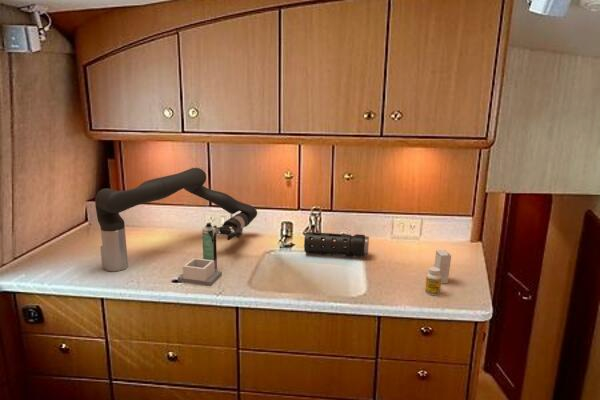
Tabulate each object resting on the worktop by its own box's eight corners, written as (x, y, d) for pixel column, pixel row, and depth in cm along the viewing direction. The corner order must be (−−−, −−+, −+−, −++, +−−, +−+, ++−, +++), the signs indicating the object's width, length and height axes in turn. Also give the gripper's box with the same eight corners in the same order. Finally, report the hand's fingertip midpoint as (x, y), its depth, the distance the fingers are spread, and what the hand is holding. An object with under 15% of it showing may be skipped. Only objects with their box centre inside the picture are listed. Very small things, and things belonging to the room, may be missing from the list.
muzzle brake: (306, 249, 227) (307, 228, 224) (368, 253, 223) (369, 232, 220) (303, 257, 218) (304, 235, 215) (367, 261, 214) (368, 239, 211)
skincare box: (432, 277, 198) (434, 249, 195) (443, 277, 198) (446, 249, 195) (437, 284, 192) (440, 255, 189) (448, 284, 193) (451, 254, 189)
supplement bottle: (439, 290, 187) (441, 266, 185) (440, 296, 182) (443, 272, 179) (424, 289, 188) (426, 265, 185) (425, 295, 183) (427, 271, 180)
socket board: (177, 281, 192) (176, 265, 190) (190, 271, 202) (189, 256, 200) (210, 285, 188) (210, 270, 187) (221, 275, 198) (221, 260, 196)
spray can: (219, 269, 204) (218, 223, 199) (209, 272, 200) (207, 226, 195) (211, 265, 208) (209, 220, 202) (201, 269, 204) (199, 223, 198)
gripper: (219, 216, 226) (203, 226, 211) (248, 219, 222) (234, 230, 207) (219, 231, 228) (204, 243, 213) (248, 235, 224) (234, 246, 209)
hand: (219, 236), depth 210 cm, fingers open, 8 cm apart
